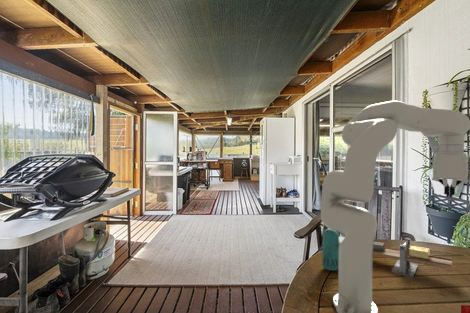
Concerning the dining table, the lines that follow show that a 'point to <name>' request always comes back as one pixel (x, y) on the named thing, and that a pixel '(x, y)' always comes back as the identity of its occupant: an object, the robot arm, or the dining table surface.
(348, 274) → the robot arm
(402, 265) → the stand
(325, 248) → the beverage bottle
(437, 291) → the dining table surface
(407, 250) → the beam
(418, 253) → the block
